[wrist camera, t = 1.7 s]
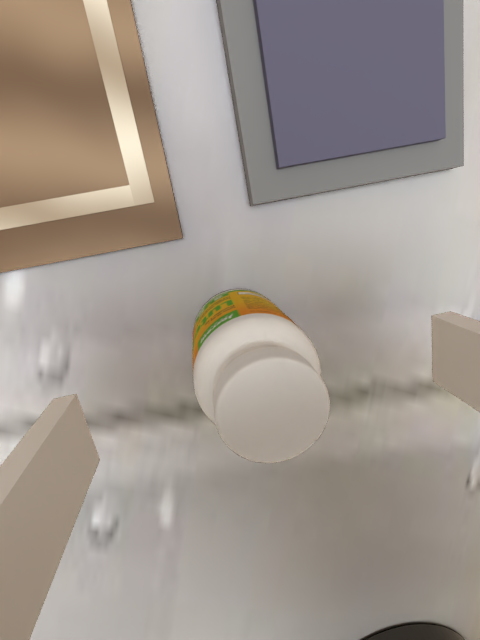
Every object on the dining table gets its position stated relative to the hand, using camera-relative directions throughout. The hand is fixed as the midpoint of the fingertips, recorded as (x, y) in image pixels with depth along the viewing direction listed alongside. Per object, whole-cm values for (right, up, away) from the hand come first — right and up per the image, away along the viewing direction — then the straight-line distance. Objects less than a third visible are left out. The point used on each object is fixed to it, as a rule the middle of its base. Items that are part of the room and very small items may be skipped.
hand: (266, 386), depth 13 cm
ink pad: (+4, +17, +5) cm, 18 cm away
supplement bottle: (-1, +2, +8) cm, 9 cm away
